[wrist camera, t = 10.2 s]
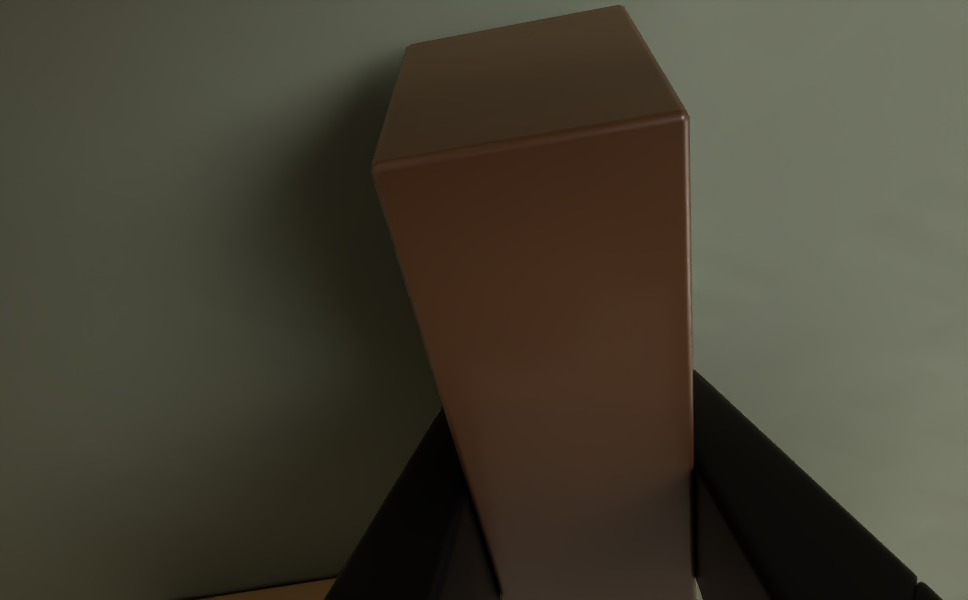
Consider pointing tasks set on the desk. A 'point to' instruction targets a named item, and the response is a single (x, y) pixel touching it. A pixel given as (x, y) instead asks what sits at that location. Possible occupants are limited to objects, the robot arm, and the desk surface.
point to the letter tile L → (284, 592)
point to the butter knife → (554, 295)
